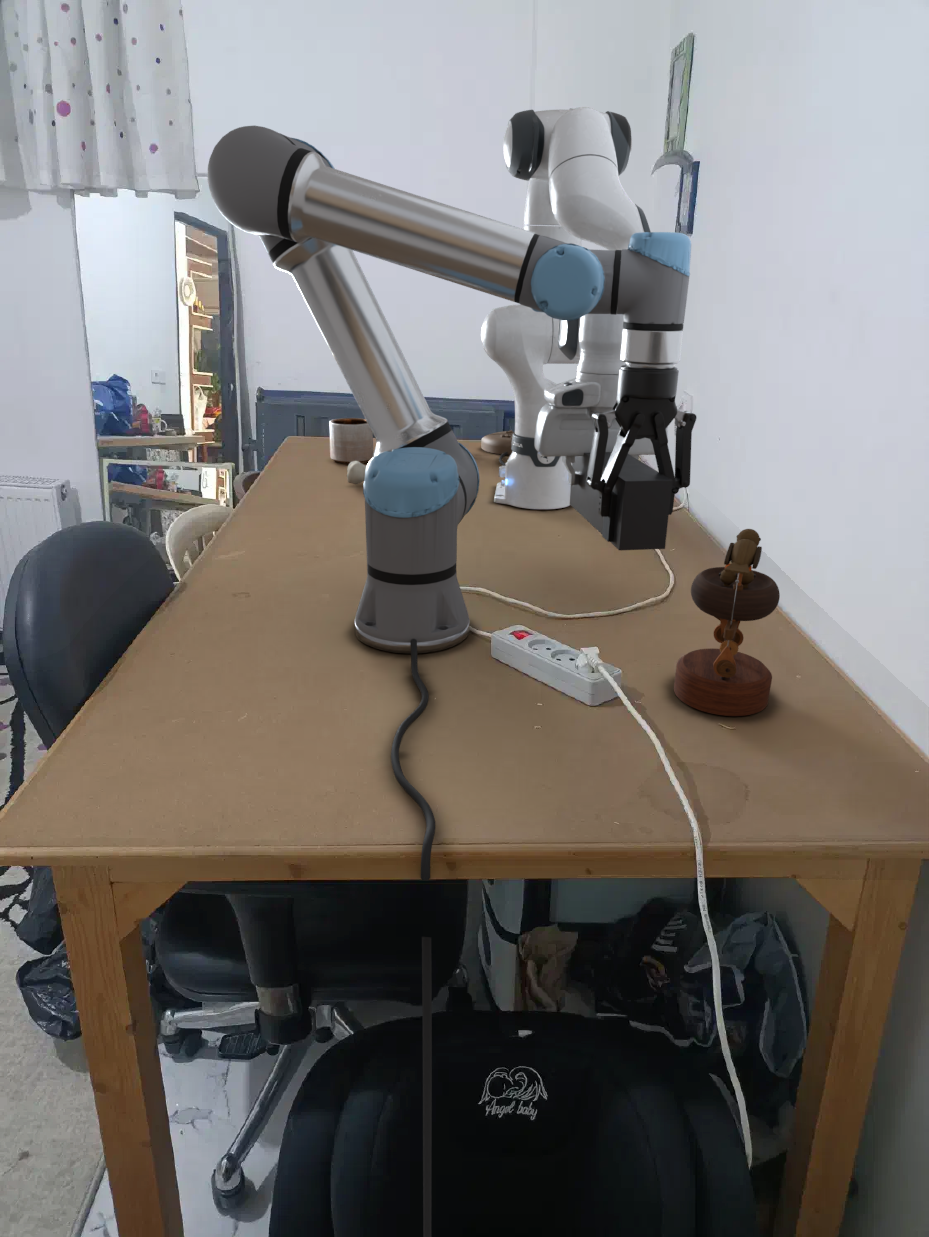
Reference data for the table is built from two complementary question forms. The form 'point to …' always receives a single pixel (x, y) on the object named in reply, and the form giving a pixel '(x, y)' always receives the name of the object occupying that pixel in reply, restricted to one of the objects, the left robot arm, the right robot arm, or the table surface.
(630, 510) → the box
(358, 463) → the dog toy
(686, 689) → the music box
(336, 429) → the planter
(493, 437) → the brown rounded flat piece
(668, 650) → the table surface
